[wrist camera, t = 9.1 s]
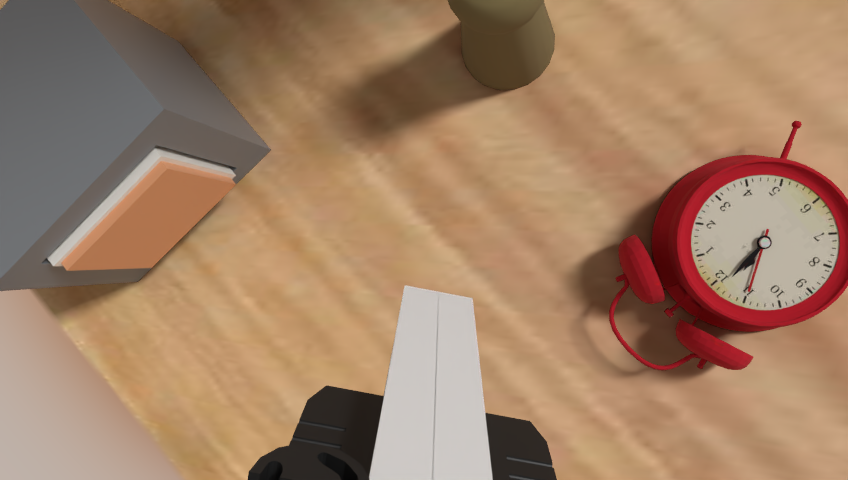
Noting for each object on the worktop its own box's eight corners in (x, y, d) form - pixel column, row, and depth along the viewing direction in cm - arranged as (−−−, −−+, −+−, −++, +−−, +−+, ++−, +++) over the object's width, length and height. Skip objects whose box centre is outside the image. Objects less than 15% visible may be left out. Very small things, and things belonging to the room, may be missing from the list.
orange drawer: (85, 186, 42) (-19, 171, 35) (171, 97, 41) (83, 60, 33) (151, 270, 41) (59, 274, 33) (241, 181, 40) (167, 164, 32)
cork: (506, 109, 39) (491, 53, 28) (442, 47, 40) (404, -31, 29) (575, 40, 38) (587, -45, 27) (508, -22, 39) (495, -128, 28)
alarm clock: (937, 233, 31) (732, 431, 29) (854, 252, 37) (682, 416, 35) (786, 91, 32) (584, 273, 31) (731, 132, 38) (561, 285, 37)
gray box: (53, 172, 45) (-119, 144, 34) (178, 41, 43) (42, -38, 32) (137, 281, 44) (-13, 291, 32) (270, 149, 42) (164, 108, 30)
